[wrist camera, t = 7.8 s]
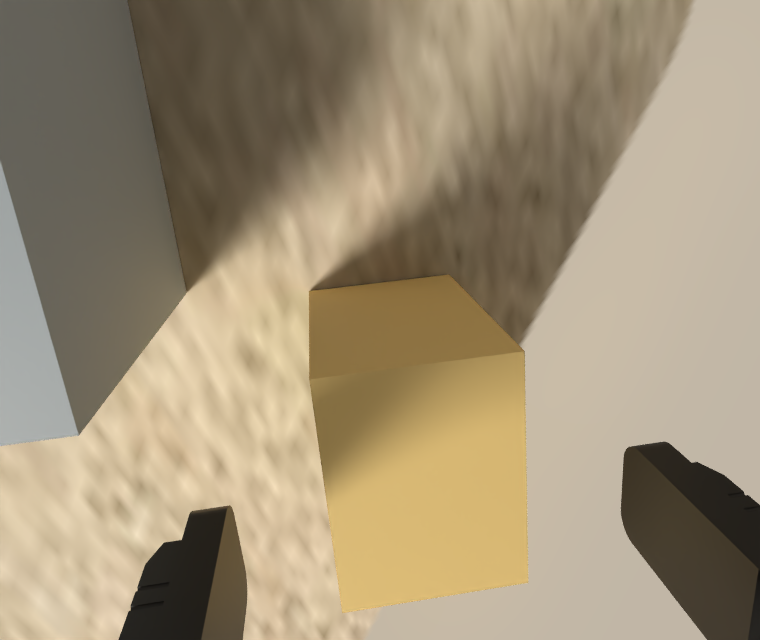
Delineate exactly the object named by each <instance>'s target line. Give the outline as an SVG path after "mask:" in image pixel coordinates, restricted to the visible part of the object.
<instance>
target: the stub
mask: <svg viewBox="0 0 760 640" xmlns="http://www.w3.org/2000/svg"><path fill="white" fill-rule="evenodd" d="M309 380H310V387H311V394H312V401H313V409H314V416H315V423H316V430H317V437H318V444H319V451H320V458H321V465H322V472H323V479H324V486H325V493H326V500H327V507H328V515H329V522H330V529H331V536H332V543H333V550H334V557H335V564H336V571H337V578H338V585H339V592H340V599H341V606H342V613H346V612H352V611H358V610H364V609H370V608H376V607H382V606H388V605H395V604H400V603H407V602H413V601H419V600H425V599H431V598H437V597H444V596H450V595H455V594H462V593H468V592H474V591H480V590H486V589H492V588H499V587H504V586H511V585H517V584H522V583H528V539H527V538H528V537H527V477H526V414H525V353H524V350H523V349H522V348H521V347H520V346H519V345H518V344H517V343H516V342H515V341H514V340H513V339H512V338H511V337H510V336H509V335H508V334H507V333H506V332H505V331H504V330H503V329H502V328H501V327H500V326H499V325H498V324H497V323H496V322H495V321H494V320H493V319H492V318H491V317H490V316H489V315H488V314H487V313H486V312H485V311H484V310H483V309H482V308H481V306H480V305H479V304H478V303H477V302H476V301H475V300H474V299H473V298H472V297H471V296H470V295H469V294H468V293H467V292H466V291H465V290H464V289H463V288H462V287H461V286H460V285H459V284H458V283H457V282H456V281H455V280H454V279H453V278H452V277H451V276H450V275H441V276H432V277H424V278H415V279H407V280H398V281H390V282H382V283H373V284H365V285H356V286H348V287H340V288H331V289H323V290H314V291H309Z"/></svg>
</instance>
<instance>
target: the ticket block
mask: <svg viewBox="0 0 760 640" xmlns="http://www.w3.org/2000/svg"><path fill="white" fill-rule="evenodd" d="M186 293H187V292H186V287H185V282H184V277H183V272H182V267H181V262H180V257H179V253H178V248H177V243H176V238H175V233H174V228H173V223H172V218H171V213H170V208H169V203H168V198H167V193H166V188H165V183H164V178H163V174H162V169H161V164H160V159H159V154H158V149H157V144H156V139H155V134H154V129H153V124H152V119H151V114H150V109H149V104H148V100H147V95H146V90H145V85H144V80H143V75H142V70H141V65H140V60H139V55H138V50H137V45H136V40H135V35H134V30H133V25H132V21H131V16H130V11H129V6H128V1H127V0H0V446H4V445H11V444H19V443H26V442H34V441H41V440H49V439H56V438H64V437H71V436H79V434H80V433H81V432H82V430H83V429H84V428H85V426H86V425H87V424H88V423H89V421H90V420H91V419H92V417H93V416H94V415H95V413H96V412H97V411H98V409H99V408H100V407H101V405H102V404H103V403H104V401H105V400H106V399H107V397H108V396H109V395H110V393H111V392H112V391H113V390H114V388H115V387H116V386H117V384H118V383H119V382H120V380H121V379H122V378H123V376H124V375H125V374H126V372H127V371H128V370H129V368H130V367H131V366H132V364H133V363H134V362H135V361H136V359H137V358H138V357H139V355H140V354H141V353H142V351H143V350H144V349H145V347H146V346H147V345H148V343H149V342H150V341H151V339H152V338H153V337H154V335H155V334H156V333H157V331H158V330H159V329H160V328H161V326H162V325H163V324H164V322H165V321H166V320H167V318H168V317H169V316H170V314H171V313H172V312H173V310H174V309H175V308H176V306H177V305H178V304H179V302H180V301H181V300H182V299H183V297H184V296H185V295H186Z"/></svg>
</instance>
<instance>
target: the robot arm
mask: <svg viewBox="0 0 760 640" xmlns="http://www.w3.org/2000/svg"><path fill="white" fill-rule="evenodd" d="M621 516H622V521H623V525H624V528H625V531H626V533H627V535H628V537H629V539H630V541H631V542H632V544H633V545H634V546H635V548H636V549H637V550H638V551H639V552H640V554H641V555H642V557H643V558H644V559H645V560H646V562H647V563H648V564H649V565H650V567H651V568H652V569H653V571H654V572H655V573H656V575H657V576H658V577H659V578H660V580H661V581H662V582H663V583H664V585H665V586H666V587H667V589H668V590H669V591H670V592H671V594H672V595H673V596H674V598H675V599H676V600H677V601H678V603H679V604H680V605H681V607H682V608H683V609H684V610H685V612H686V613H687V614H688V616H689V617H690V618H691V619H692V621H693V622H694V623H695V624H696V626H697V627H698V628H699V630H700V631H701V632H702V634H703V635H704V636H705V637H706V639H707V640H760V505H759V504H758V503H757V502H755V501H754V500H753V499H752V498H751V497H749V496H748V495H747V496H745V495H744V492H743V491H742V490H741V489H740V488H739V487H738V486H736V485H735V484H734V483H733V482H732V481H731V480H729V479H728V478H727V477H725V475H722V474H721V473H719V472H717V471H714V470H713V469H710V468H708V467H706V466H704V465H702V464H700V463H698V462H695V463H691V462H690V461H689V460H688V459H687V458H685V457H684V456H683V455H682V454H681V453H680V452H679V451H677V450H676V449H675V448H674V447H673V446H672V445H670V444H669V443H667V442H659V443H652V444H645V445H638V446H632V447H628V448H627V449H626V451H625V453H624V464H623V481H622V499H621ZM246 606H247V579H246V571H245V565H244V560H243V556H242V551H241V546H240V541H239V536H238V531H237V526H236V522H235V517H234V512H233V509H232V507H231V506H223V507H217V508H210V509H203V510H197V511H192V512H191V513H190V515H189V518H188V521H187V524H186V528H185V531H184V535H183V538H182V540H179V541H173V542H166V543H163V545H162V546H161V547H160V548H159V549H158V550H157V552H156V553H155V554H154V555H153V556H152V557H151V558H150V560H149V561H148V562H147V563H146V565H145V567H144V570H143V573H142V576H141V579H140V581H139V584H138V591H137V592H136V593H135V595H134V598H133V601H132V604H131V611H129V612H128V615H127V618H126V621H125V623H124V626H123V629H122V632H121V634H120V637H119V640H243V631H244V623H245V615H246Z"/></svg>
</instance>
